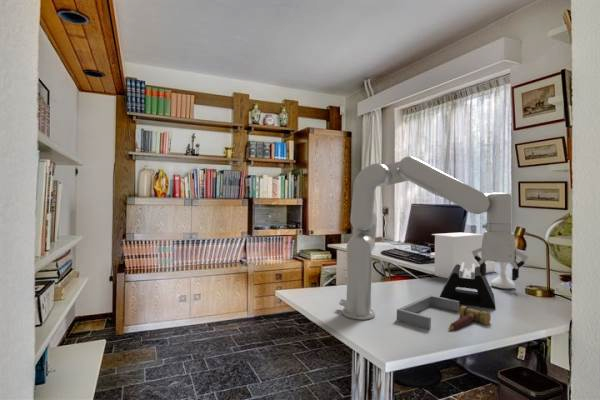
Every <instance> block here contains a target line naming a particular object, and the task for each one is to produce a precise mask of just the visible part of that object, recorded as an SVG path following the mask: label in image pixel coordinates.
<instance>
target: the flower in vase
mask: <svg viewBox="0 0 600 400" xmlns="http://www.w3.org/2000/svg"><path fill="white" fill-rule="evenodd" d="M498 264H499V267H500V268H499V269H500V273H499V275H498V276H497V277H495V278H493V279H492V280H491V281H490V286H493V287H495V288H499V289H514V288H515V287H516V284H515V283H514V281H513V280H512V279H510V278H509V277H508V276H507V274H506V270H507V266H508V264H509V263H505V262H498Z"/></svg>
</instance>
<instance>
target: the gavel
mask: <svg viewBox="0 0 600 400" xmlns="http://www.w3.org/2000/svg"><path fill="white" fill-rule="evenodd" d="M458 315H459V317H460V318H459V319H457V320H455V321H454V322H451V323H450V325H449V326H448V330H449V331H456V330H459V329H461V328H462V327H463V326H466V325H467V324H469V323H471V322H472V321H475V322H478V323H479V322H480V324H483V325H489V324H490V322H491V313H490V312H488V311H485V310H483V311H481V310H478V309H474V308H469V307H468V306H467V305H461V306H460V307H459V311H458Z"/></svg>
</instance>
